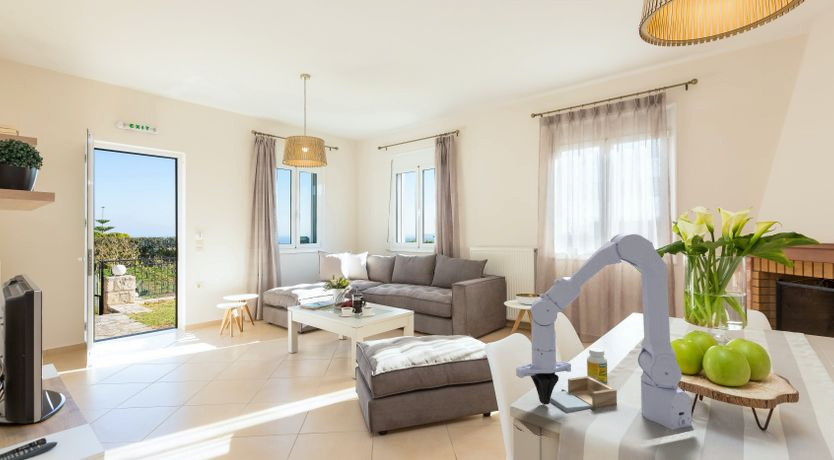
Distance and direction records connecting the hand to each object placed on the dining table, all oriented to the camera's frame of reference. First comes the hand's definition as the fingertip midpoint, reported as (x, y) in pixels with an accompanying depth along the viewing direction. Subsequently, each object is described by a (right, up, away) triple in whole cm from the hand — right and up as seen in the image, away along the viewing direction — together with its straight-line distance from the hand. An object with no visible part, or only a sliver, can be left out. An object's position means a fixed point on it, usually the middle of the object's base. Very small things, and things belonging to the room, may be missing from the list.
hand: (544, 402), depth 96 cm
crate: (+13, -2, +4) cm, 14 cm away
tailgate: (+9, -1, +3) cm, 10 cm away
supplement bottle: (+21, -2, +17) cm, 27 cm away
